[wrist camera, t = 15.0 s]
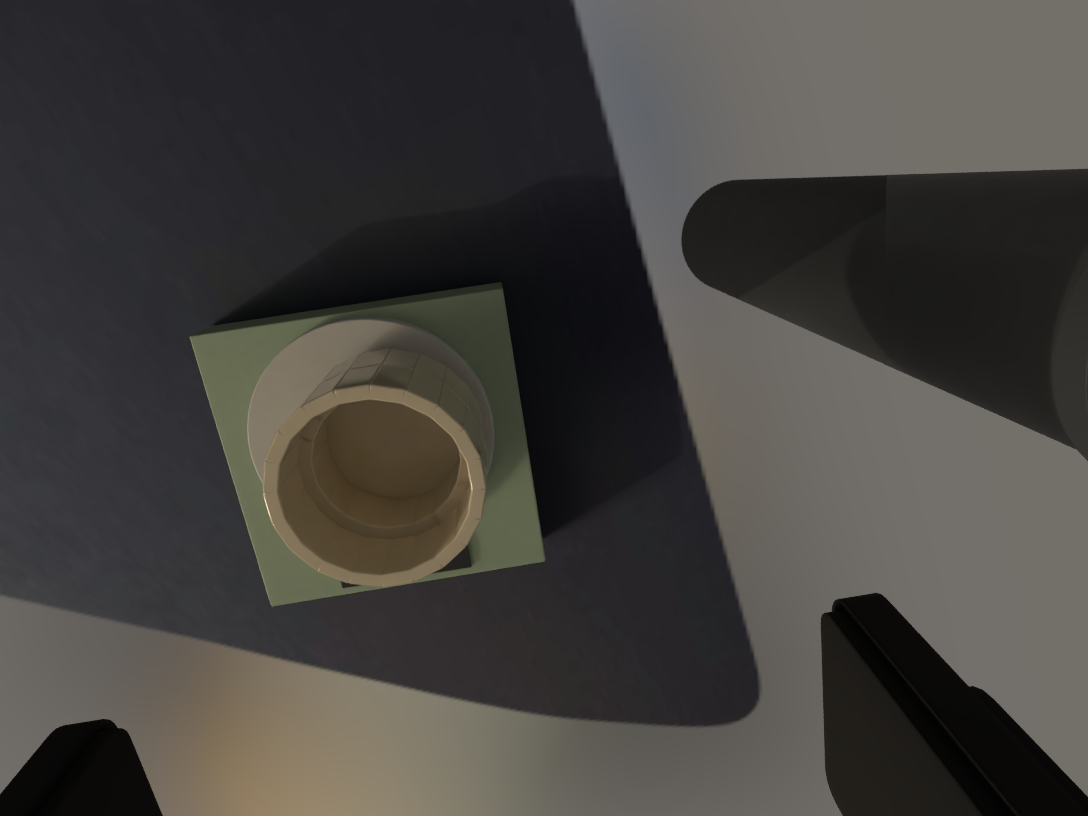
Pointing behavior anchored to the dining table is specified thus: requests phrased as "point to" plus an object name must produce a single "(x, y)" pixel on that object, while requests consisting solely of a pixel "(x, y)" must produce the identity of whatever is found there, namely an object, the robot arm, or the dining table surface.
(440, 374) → the tan faceted cup
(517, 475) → the scale
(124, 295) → the dining table surface
